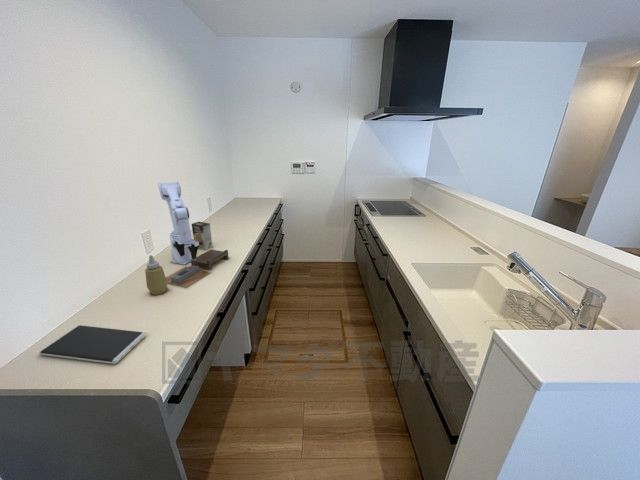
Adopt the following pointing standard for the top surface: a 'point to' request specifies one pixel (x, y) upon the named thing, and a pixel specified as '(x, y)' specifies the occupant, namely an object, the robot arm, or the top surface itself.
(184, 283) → the mat
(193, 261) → the shelf
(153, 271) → the squeeze bottle
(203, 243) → the coffee box
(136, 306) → the top surface
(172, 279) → the remote
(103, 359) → the black flat slab
